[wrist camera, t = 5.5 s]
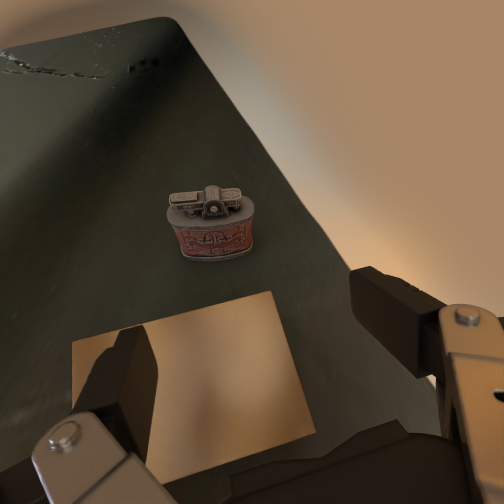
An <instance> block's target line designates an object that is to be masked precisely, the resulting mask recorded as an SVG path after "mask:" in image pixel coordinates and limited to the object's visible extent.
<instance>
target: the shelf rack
mask: <svg viewBox="0 0 504 504" xmlns="http://www.w3.org/2000/svg"><path fill="white" fill-rule="evenodd" d="M139 325H143V326H144V328H145V330H146V332H147V335H148V338H149V341H150V344H151V346H152V349H153V352H154V355H155V358H156V361H157V365H158V383H157V390H156V397H155V404H154V411H153V418H152V425H151V432H150V438H149V445H148V452H147V459H146V465H145V466H146V467H147V468H148V469H149V470H150V472H151V473H152V474H153V475H154V476H155V477H156V479H157V480H158V481H159V482H160V483H161V484H162V485H163V484H166V483H169V482H172V481H175V480H178V479H181V478H184V477H186V476H189V475H192V474H195V473H198V472H201V471H204V470H207V469H210V468H213V467H216V466H219V465H222V464H225V463H228V462H231V461H234V460H237V459H240V458H243V457H246V456H249V455H252V454H255V453H258V452H261V451H264V450H267V449H270V448H273V447H276V446H279V445H282V444H285V443H288V442H291V441H294V440H296V439H299V438H302V437H305V436H308V435H311V434H314V433H316V430H315V427H314V424H313V421H312V418H311V415H310V411H309V408H308V405H307V402H306V399H305V396H304V393H303V390H302V386H301V383H300V380H299V377H298V374H297V371H296V368H295V364H294V361H293V358H292V355H291V352H290V349H289V346H288V343H287V339H286V336H285V333H284V330H283V327H282V324H281V321H280V317H279V314H278V311H277V308H276V305H275V302H274V299H273V295H272V292H271V291H267V292H263V293H259V294H255V295H251V296H247V297H244V298H240V299H236V300H232V301H228V302H224V303H220V304H216V305H213V306H209V307H205V308H201V309H197V310H193V311H189V312H186V313H182V314H178V315H174V316H170V317H166V318H162V319H159V320H155V321H151V322H147V323H143V324H139ZM135 326H138V325H135ZM132 327H134V326H132ZM128 328H131V327H128ZM124 329H127V328H124ZM120 330H123V329H120ZM120 330H116V331H112V332H108V333H104V334H101V335H97V336H93V337H89V338H85V339H81V340H77V341H74V342H72V378H73V407H74V405H75V403H76V401H77V399H78V397H79V394H80V392H81V390H82V388H83V386H84V384H85V383H86V380H87V377H88V375H89V373H91V369H92V367H93V365H94V362H95V360H96V359H97V358H98V357H99V356H100V355H101V354H102V353H103V351H104V350H105V349H106V348H109V347H113V345H114V343H115V340H116V338H117V336H118V333H119V331H120Z"/></svg>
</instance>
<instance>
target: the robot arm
mask: <svg viewBox="0 0 504 504" xmlns="http://www.w3.org/2000/svg"><path fill="white" fill-rule="evenodd" d="M349 281H350V294H351V307H352V311H353V314H354V316H355V318H356V319H357V321H358V322H359V323H360V324H361V325H362V326H363V327H364V328H366V329H367V330H368V331H369V332H370V333H371V334H372V335H373V336H374V337H375V338H376V339H377V340H378V341H379V342H380V343H381V344H382V345H383V346H384V347H385V348H386V349H387V350H388V351H389V352H390V353H391V354H392V355H393V356H394V357H395V358H396V359H398V360H399V361H400V362H401V363H402V364H403V365H404V366H405V367H406V368H407V369H408V370H409V371H410V372H411V373H412V374H413V375H414V376H415V377H416V378H417V379H419V378H422V377H425V376H428V375H431V374H433V375H434V376H435V377H436V394H437V403H438V411H439V420H440V428H441V437H439V436H436V435H430V434H423V433H407V431H406V430H405V429H404V428H403V426H402V425H401V424H400V423H399V421H398V420H397V419H396V420H393V421H390V422H387V423H384V424H381V425H378V426H375V427H372V428H369V429H366V430H363V431H360V432H358V433H356V434H355V435H354V436H352V437H351V438H349V439H348V440H347V441H345V442H344V443H342V444H341V445H339V446H338V447H337V448H335V449H334V450H332V451H331V452H329V453H328V454H327V455H325V456H323V457H321V458H313V459H297V460H281V461H272V462H269V463H266V464H263V465H260V466H257V467H254V468H251V469H248V470H245V471H242V472H240V473H237V474H234V475H231V476H230V480H231V488H232V493H231V494H230V495H228V496H227V497H225V498H224V499H223V500H222V501H221V502H219V503H218V504H504V317H496V316H495V315H494V314H493V313H491V312H490V311H488V310H486V309H483V308H480V307H477V306H473V305H466V304H453V305H446V304H444V303H443V302H441V301H439V300H437V299H436V298H434V297H432V296H430V295H429V294H427V293H425V292H423V291H419V289H418V288H416V287H415V286H413V285H410V284H409V283H408V282H406V281H404V280H402V279H400V278H397V277H394V276H390V275H387V274H386V275H385V274H383V273H381V272H380V271H378V270H376V269H375V268H373V267H371V266H368V267H364V268H360V269H356V270H352V271H351V272H350V274H349ZM157 383H158V365H157V361H156V358H155V355H154V352H153V349H152V346H151V344H150V341H149V338H148V335H147V332H146V330H145V328H144V326H143V325H138V326H134V327H131V328H127V329H123V330H120V331H119V333H118V336H117V338H116V340H115V343H114V345H113V347H109V348H106V349H105V350H104V351H103V353H102V354H101V355H100V356H99V357H98V358H97V359H96V360H95V362H94V365H93V367H92V369H91V373H89V375H88V377H87V380H86V383H85V384H84V386H83V388H82V390H81V392H80V394H79V397H78V399H77V401H76V403H75V405H74V407H73V409H72V412H71V414H70V416H68V417H66V418H64V419H62V420H61V421H59V422H58V423H56V424H55V425H54V426H52V427H51V428H50V429H49V430H48V431H47V432H46V433H45V434H44V435H43V436H42V437H41V438H40V439H39V441H38V442H37V444H36V445H35V447H34V449H33V453H32V456H31V457H29V458H27V459H25V460H23V461H22V462H20V463H18V464H16V465H14V466H12V467H10V468H8V469H7V470H5V471H3V472H1V473H0V504H178V503H177V502H176V501H175V500H174V498H173V497H172V496H171V495H170V494H169V493H168V491H167V490H166V489H165V488H164V487H163V486H162V484H161V483H160V482H159V481H158V480H157V479H156V477H155V476H154V475H153V474H152V473H151V472H150V470H149V469H148V468H147V467H146V466H145V465H146V459H147V452H148V445H149V438H150V432H151V425H152V418H153V411H154V404H155V397H156V390H157Z"/></svg>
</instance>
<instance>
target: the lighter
mask: <svg viewBox="0 0 504 504" xmlns="http://www.w3.org/2000/svg"><path fill="white" fill-rule="evenodd" d="M169 203H170V206H169V208H168V210H167V219H168V221H169V223H170V225H171V226H172V227H173V228H174V230H175V233H176V235H177V238H178V240H179V242H180V245H181V251H182V254H183V256H184V257H185V258H186V259H187V260H192V261H220V260H226V259H232V258H236V257H239V256H243V255H246V254H248V253H249V252H250V251H251V249H252V237H251V227H252V218H253V215H254V204H253V202H252V201H251V200H250V199H249V198H248V197H245V196H241V191H240V190H239V189H237V188H233V189H221V188H219V187H218V186H215V185H213V186H207V187H206V188H205V189H204V190H203V191H198V192H186V193H174V194H172V195H170V197H169Z"/></svg>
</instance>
